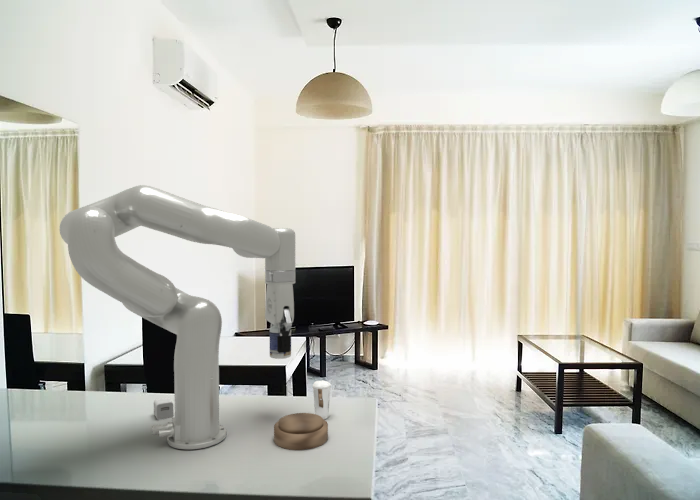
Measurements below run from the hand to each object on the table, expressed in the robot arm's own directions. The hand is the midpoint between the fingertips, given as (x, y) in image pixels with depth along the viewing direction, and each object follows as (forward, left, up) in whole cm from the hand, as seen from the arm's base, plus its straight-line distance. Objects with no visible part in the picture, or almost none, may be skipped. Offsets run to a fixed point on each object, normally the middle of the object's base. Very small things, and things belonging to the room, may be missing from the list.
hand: (280, 348), depth 121 cm
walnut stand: (0, -15, -17) cm, 23 cm away
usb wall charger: (-27, +15, -17) cm, 35 cm away
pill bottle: (0, 0, -2) cm, 2 cm away
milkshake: (+10, -5, -17) cm, 20 cm away
